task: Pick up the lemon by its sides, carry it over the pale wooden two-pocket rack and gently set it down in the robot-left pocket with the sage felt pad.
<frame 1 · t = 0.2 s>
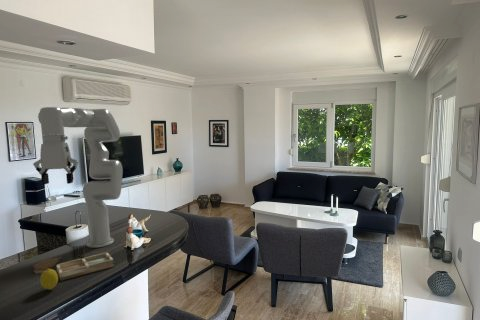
hand: (57, 183, 132), 37 cm above the worktop, tool pointing down, fingers open, 9 cm apart
rack: (85, 268, 140), on the worktop
pottery shard: (46, 267, 145), on the worktop
lemon: (50, 290, 123), on the worktop
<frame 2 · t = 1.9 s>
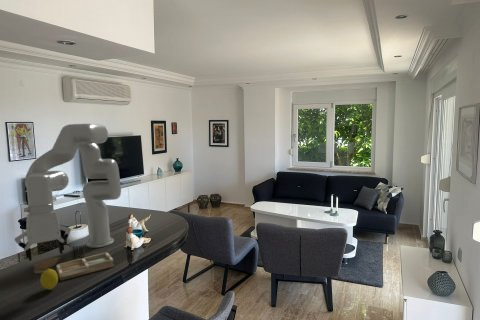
hand: (45, 256, 121), 13 cm above the worktop, tool pointing down, fingers open, 9 cm apart
nothing on the worktop moved.
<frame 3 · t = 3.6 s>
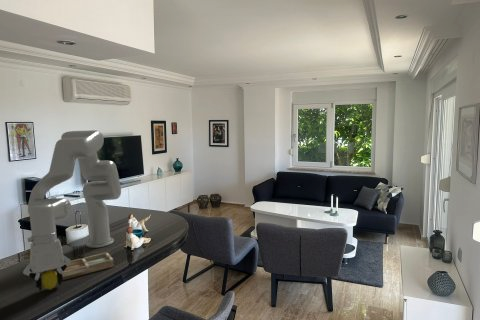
hand: (50, 285, 123), 2 cm above the worktop, tool pointing down, fingers closed on lemon, 5 cm apart
lemon: (50, 290, 123), on the worktop, touching gripper
everything else where it was.
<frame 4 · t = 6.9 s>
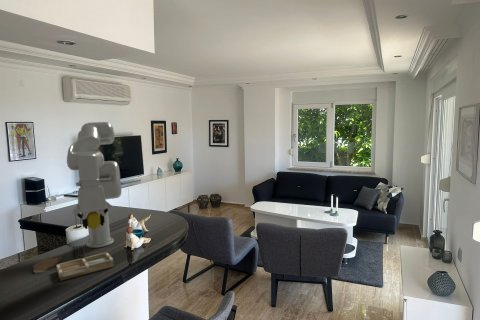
hand: (94, 226, 141), 17 cm above the worktop, tool pointing down, fingers closed on lemon, 5 cm apart
lemon: (94, 230, 141), point 15 cm above the worktop, touching gripper
everything else where it was.
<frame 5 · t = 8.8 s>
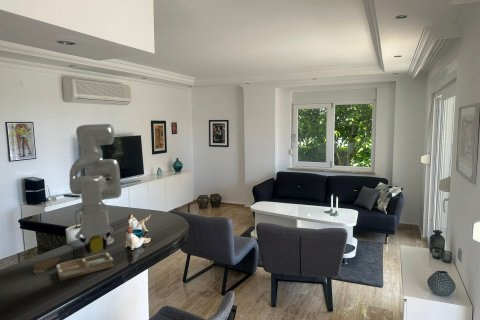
hand: (96, 250, 141), 7 cm above the worktop, tool pointing down, fingers closed on lemon, 5 cm apart
lemon: (96, 253, 142), point 5 cm above the worktop, touching gripper
everything else where it was.
when the fingers open (4 cm above the worktop, at t = 10.3 s): lemon stays where it is, resting on rack.
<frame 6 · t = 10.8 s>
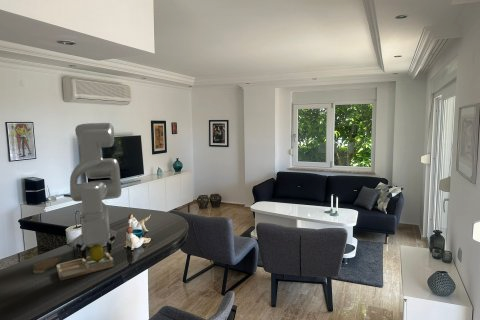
hand: (97, 255, 142), 5 cm above the worktop, tool pointing down, fingers open, 9 cm apart
lemon: (98, 262, 143), point 1 cm above the worktop, touching rack
everything else where it was.
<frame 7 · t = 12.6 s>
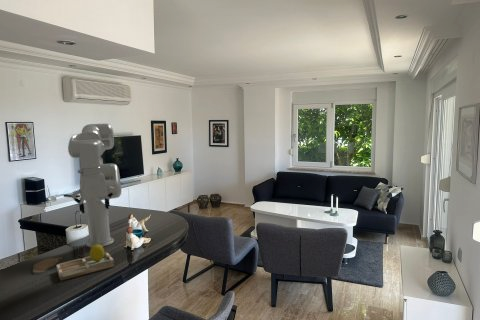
hand: (95, 210, 145), 23 cm above the worktop, tool pointing down, fingers open, 9 cm apart
nothing on the worktop moved.
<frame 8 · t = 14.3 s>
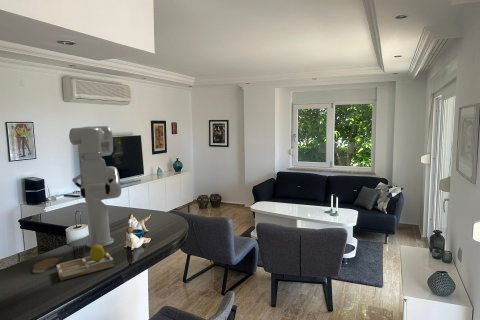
hand: (95, 195, 148), 28 cm above the worktop, tool pointing down, fingers open, 9 cm apart
nothing on the worktop moved.
at the end: lemon 0.2 cm from the target spot on the rack, point 1.2 cm above the rack's base; the gripper is holding nothing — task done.
